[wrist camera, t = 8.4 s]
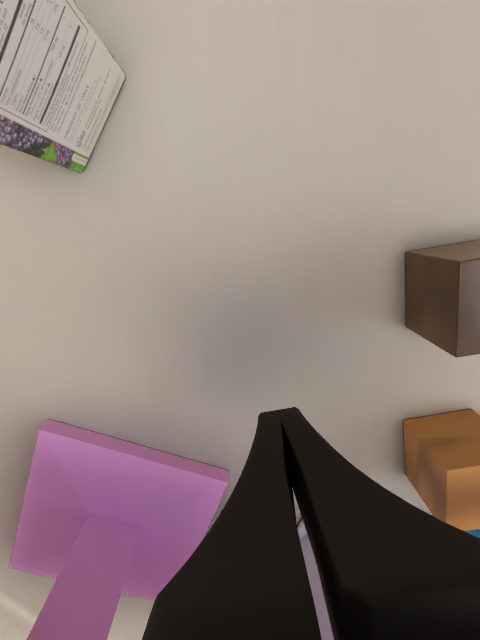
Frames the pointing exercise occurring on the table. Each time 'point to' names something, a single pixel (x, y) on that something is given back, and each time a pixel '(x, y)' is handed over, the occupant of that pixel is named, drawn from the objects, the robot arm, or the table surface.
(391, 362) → the table surface
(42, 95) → the syrup box
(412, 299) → the walnut block
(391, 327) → the table surface
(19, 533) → the purple pedestal chair
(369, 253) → the table surface
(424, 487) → the oak block
